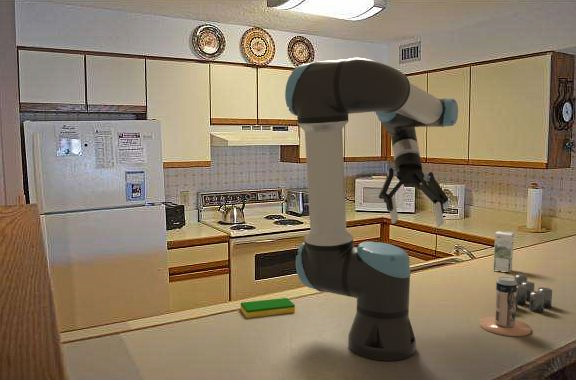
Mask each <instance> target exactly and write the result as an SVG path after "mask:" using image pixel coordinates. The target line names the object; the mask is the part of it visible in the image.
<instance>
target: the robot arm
mask: <svg viewBox="0 0 576 380" xmlns="http://www.w3.org/2000/svg"><path fill="white" fill-rule="evenodd" d="M284 96H285V98H284V99H285V104H286V107H287V108H288V111H289V112H290V113H291V115H294V116H296V117H297V125H298V126H299V127H300V128H301V129H302V130H303V131H304V139H305V140H304V141H305V157H306V162H305V163H306V178H307V195H308V196H307V197H308V211H309V213H308V214H309V229H310V230H309V232H308V233H307V234H306V235H305V236H304V241H303V242H302V243H301V244H300V246H299V247H298V250H297V255H296V256H295V268H296V273H297V277H298V279H299V280H300V282H301V283H302V284H303V285H304V286H305V287H307V288H309V289H313V290H316V291H318V292H320V293H321V292H323V293H325V292H326V293H330V294H335V295H339V296H344V297H345V296H346V297H350V298H355V299H356V311H355V312H356V313H355V315H354V319H353V321H352V324H351V327H350V329H349V333H348V339H347V340H348V342H347V345H348V348H349V349H350V350H351V352H353V353H354V352H355V354H356V353H357V355H358V354H359V355H358V356H360V355H361V357H363V358H366V357H367V358H366V359H371V360H376V361H385V362H387V361H388V362H390V361H392V362H393V361H402V360H405V359H408V358H411V357H412V356H413V355H414V354H416V347H417V346H416V344H417V341H416V337H415V333H414V330H413V326H412V324H411V319H410V315H409V312H410V310H409V308H410V307H409V306H410V285H411V283H410V282H411V281H410V280H411V273H412V272H411V267H410V265H411V261H410V260H411V259H410V256H409V254H408V253H407V252H406V251H405V250H404V249H403V248H401V247H399V246H396V245H393V244H391V243H390V244H389V243H386V242H380V241H379V242H378V241H376V242H375V241H363V242H360V243H359V244H358V245H357V246H354V236H353V234H352V233H350V231H348V229H347V213H346V212H347V211H346V192H345V191H346V189H345V187H346V186H345V166H344V164H345V163H344V143H343V141H344V139H343V129H344V127H346V125H347V124H348V123H349V115H350V114H351V115H352V114H360V113H361V114H362V113H372V112H373V113H374V112H375V114H376V116H377V118H378V120H379V122H380V123H381V124H382V126H383V127H384V128H385V130H386V131H387V133H388V134H389V136H390V138H391V146H392V152H393V153H392V155H393V157H394V158H393V159H394V166H395V167H394V168H395V169H393V167H390V168H389V169H388V170H387V172H386V173H385V174H386V177H385V181H384V183H383V185H382V188H381V190H380V192H379V195H378V199H380V200H383V202H384V203H385V205H386V210H387V211H388V212H389V215H390V221H391V224H395V223H396V222H397V221H398V220H399V216H398V210H397V201H396V198H395V197H394V196H395V194H396V193H397V192H398V191H399V189H401V187H402V186H404V187H406V188H409V187H410V188H417V190H418V191H421V192H422V193H423V194H424V195H425V196H426V197H427V198H428V199H429V200H430V201H431V203H433V204H434V205H433V206H432V207H433V212H434V217H435V219H434V220H435V224H436V227H437V228H440V227H441V226H442V225H443V224H444V223H445V221H444V217H443V215H444V214H445V209H444V205H445V204H446V203H447V202H448V201H449V197H448V196H447V195H446V193H445V192H444V190H443V189H442V187H441V186H440V184H439V183H438V181H437V180H436V178H435V176H434V173H433V172H432V171H429V172H428V173H424V172H423V165H422V158H421V153H420V149H419V143H418V137H417V132H416V131H417V130H416V128H419V127H421V128H424V127H425V128H429V127H432V128H433V127H436V128H437V127H442V128H444V127H445V128H446V127H453V126H455V124H456V123H457V122H458V117H459V105H458V103H457V101H456V99H455V98H447V97H445V98H438V97H435V96H434V95H433V94H430V93H429V92H428V91H426V90H424V89H422V88H420V87H418V86H416V85H415V84H413V83H411V82H410V79H409V78H408V76H407V75H405V73H403V72H402V71H400V70H398V69H396V68H394V67H392V66H390V65H389V64H386V63H385V64H384V63H382V62H379V61H376V60H373V59H367V58H364V57H363V58H361V57H353V58H348V59H347V58H346V59H337V60H336V59H335V60H324V61H323V60H322V61H312V62H309V63H304V64H300V65H298V66H296V67H295V68H294V69H293V70H292V71H291V74H290V75H289V76H288V78H287V82H286V85H285V91H284ZM395 177H396V179H398V182H397V183H396V185H395V186H394V187H393V189H392V190H391V191H390V192H389V193H387V192H388V190H389V187H390V185H391V184H392V181H393V179H394V178H395Z"/></svg>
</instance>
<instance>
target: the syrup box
mask: <svg viewBox="0 0 576 380" xmlns="http://www.w3.org/2000/svg"><path fill="white" fill-rule="evenodd" d="M494 233H495V234H494V249H493V250H494V251H493V271H494V270H498V271H506V272H510V271H511V270H512V271H513V257H514V255H513V254H514V242H515V241H514V240H515V237H514V235H515V233H514V232H513V231H504V230H497V231H496V232H494ZM512 271H511V272H512ZM511 272H510V273H511Z"/></svg>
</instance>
